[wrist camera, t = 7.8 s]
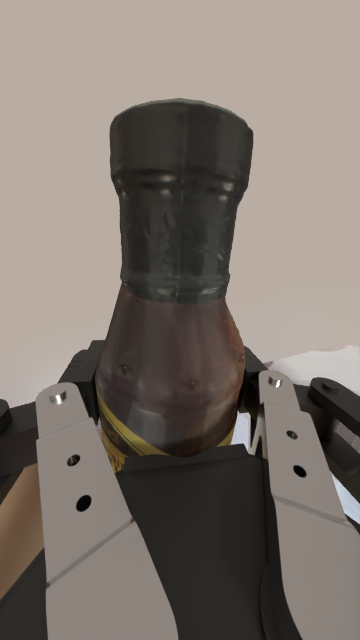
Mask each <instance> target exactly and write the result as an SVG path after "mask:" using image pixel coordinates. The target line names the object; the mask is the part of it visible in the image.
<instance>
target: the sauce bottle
mask: <svg viewBox="0 0 360 640" xmlns="http://www.w3.org/2000/svg"><path fill="white" fill-rule="evenodd" d="M252 149H253V131H252V129H250V128H249V127H248V125H247V123H246V122H245V120H244V119H242V118H240V117H239V116H237V115H236V114H235V113H233V112H232V111H230V110H227V109H225V108H222V107H220V106H217V105H213V104H210V103H206V102H204V101H198V100H190V99H183V98H176V99H168V100H158V101H150V102H146V103H143V104H139V105H135V106H132V107H130V108H128V109H126V110H125V111H123V112H121V113H120V114H118V115H116V116H115V118H114V120H113V121H112V123H111V126H110V152H111V154H110V168H111V179H112V182H113V184H114V187H115V190H116V192H117V195H118V197H119V203H120V232H121V246H122V268H121V274H120V278H121V280H122V284H121V287H120V291H119V294H118V298H117V302H116V305H115V309H114V312H113V316H112V320H111V323H110V326H109V330H108V333H107V336H106V339H105V342H104V345H103V348H102V351H101V354H100V357H99V360H98V363H97V367H96V371H95V384H96V392H97V400H98V407H99V414H100V421H101V429H102V437H103V446H104V448H105V451H106V453H107V456H108V458H109V461H110V463H111V466H112V469H113V471H114V473H116V472H117V471H120V470H122V469H124V460H125V457H133V456H142V455H150V454H161V455H169V456H176V457H183V458H190V457H193V456H195V455H197V454H200V453H202V452H205V451H207V450H209V449H212V448H214V447H218V446H226V445H231V441H232V437H233V432H234V428H235V423H236V419H237V412H238V409H237V402H238V399H239V391H240V388H241V385H242V382H243V376H244V369H245V353H244V345H243V342H242V339H241V337H240V335H239V330H238V328H237V327H236V325H235V322H234V320H233V317H232V316H231V313H230V311H229V309H228V307H227V305H226V302H225V296H226V292H227V286H228V283H229V279H230V274H229V270H228V269H229V261H230V253H231V249H232V242H233V235H234V227H235V220H236V212H237V208H238V205H239V203H240V201H241V199H242V198H243V195H244V192H245V191H246V189H247V187H248V181H249V174H250V168H251V158H252Z"/></svg>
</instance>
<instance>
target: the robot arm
mask: <svg viewBox="0 0 360 640" xmlns="http://www.w3.org/2000/svg"><path fill="white" fill-rule="evenodd" d="M104 342H105V340H93V341H92V342H91V344H90V347H89V348H88V350H81V351H80V352H78V353H77V354H75V355H74V357H73V358H72V360H71V362H70V364H69V365H68V368H66V370H65V372H64V373H63V375H62V377H61V378H60V380H59V381H58V383H57V384H55V385H52V386H50V387H48V388H46V389H44V390H43V391H42V392H40V393H39V394H38V396H37V397H36V401H35V402H32V403H29V404H25V405H21V406H17V407H14V408H10V409H9V406H8V403H7V402H6V401H5V400H2V399H0V505H1V504H2V502H3V501H4V499H5V497H6V496H7V494H8V493H9V491H10V490H11V488H12V487H13V485H14V484H15V482H16V481H17V479H18V477H19V476H20V474H21V473H22V471H23V470H24V468H25V467H28V466H30V465H33V464H36V463H38V471H39V484H40V497H41V510H42V522H43V535H44V547H43V548H42V550H41V551H40V552H39V553H38V555H37V556H36V557H35V558H34V559H33V561H32V562H31V563H30V564H29V565H28V567H27V568H26V569H25V570H24V571H23V573H22V574H21V575H20V576H19V578H18V579H17V580H16V581H15V582H14V584H13V585H12V586H11V587H10V588H9V590H8V591H7V592H6V593H5V595H4V596H3V597H2V598H1V599H0V640H360V524H358V523H357V522H356V521H354V520H353V519H351V518H350V517H349V516H347V515H346V514H345V513H344V511H343V508H342V505H341V502H340V499H339V496H338V494H337V491H336V488H335V485H334V482H333V479H332V476H331V473H332V474H333V475H334V476H335V477H336V478H337V479H338V480H339V481H340V482H341V484H342V485H343V486H344V487H345V488H346V489H347V490H348V491H349V492H350V493H351V495H352V496H353V497H354V498H355V499H356V500H357V501H358V502H359V503H360V396H358V395H356V394H355V393H353V392H352V391H350V390H349V389H347V388H346V387H344V386H343V385H341V384H340V383H338V382H335V381H333V380H330V379H327V378H321V377H317V378H313V379H312V380H311V383H310V386H302V385H296V384H293V383H292V381H291V380H290V379H289V378H288V377H287V376H286V375H284V374H282V373H279V372H277V371H272V370H268V369H267V368H266V366H265V365H264V364H263V363H262V362H261V361H260V360H259V359H257V357H256V356H255V355H254V354H253V353H252V352H251V350H250V349H249V348H247V347H245V346H244V353H245V369H244V376H243V382H242V385H241V388H240V391H239V399H238V402H237V409H238V411H239V413H247V412H249V414H250V418H249V442H248V452H247V450H246V447H245V445H244V443H243V444H234V445H226V446H218V447H214V448H212V449H209V450H207V451H205V452H202V453H200V454H197V455H195V456H193V457H190V458H183V457H176V456H169V455H161V454H150V455H142V456H133V457H125V460H124V469H122V470H120V471H117V472H116V473H114V471H113V469H112V466H111V463H110V461H109V458H108V456H107V453H106V451H105V448H104V446H103V443H102V441H101V438H100V436H99V433H98V430H97V428H96V426H97V424H98V420H99V417H100V414H99V407H98V400H97V392H96V384H95V371H96V367H97V363H98V360H99V357H100V354H101V351H102V348H103V345H104ZM339 422H341V423H342V424H343V425H345V426H346V427H347V428H348V429H349V430H351V431H352V432H353V433H354V434H355V435H356V437H355V439H354V441H353V443H352V445H350V444H348V443H347V442H346V441H345V440H344V439H343V438H342V437H341V436H340V435H338V434H337V433H336V432H335V431H336V429H337V426H338V424H339ZM330 471H331V473H330Z"/></svg>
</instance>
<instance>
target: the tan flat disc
mask: <svg viewBox="0 0 360 640" xmlns="http://www.w3.org/2000/svg"><path fill="white" fill-rule="evenodd" d="M101 441H102V443H103V440H102V439H101ZM43 547H44V535H43V522H42V510H41V497H40V484H39V471H38V463H36V464H33V465H30V466H28V467H25V468H24V470H23V471H22V473H21V474H20V476H19V477H18V479H17V481H16V482H15V484H14V485H13V487H12V488H11V490H10V491H9V493H8V494H7V496H6V497H5V499H4V501H3V502H2V504H1V505H0V599H1V598H2V597H3V596H4V595H5V593H6V592H7V591H8V590H9V588H10V587H11V586H12V585H13V584H14V582H15V581H16V580H17V579H18V578H19V576H20V575H21V574H22V573H23V571H24V570H25V569H26V568H27V567H28V565H29V564H30V563H31V562H32V561H33V559H34V558H35V557H36V556H37V555H38V553H39V552H40V551H41V550H42V548H43Z"/></svg>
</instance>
